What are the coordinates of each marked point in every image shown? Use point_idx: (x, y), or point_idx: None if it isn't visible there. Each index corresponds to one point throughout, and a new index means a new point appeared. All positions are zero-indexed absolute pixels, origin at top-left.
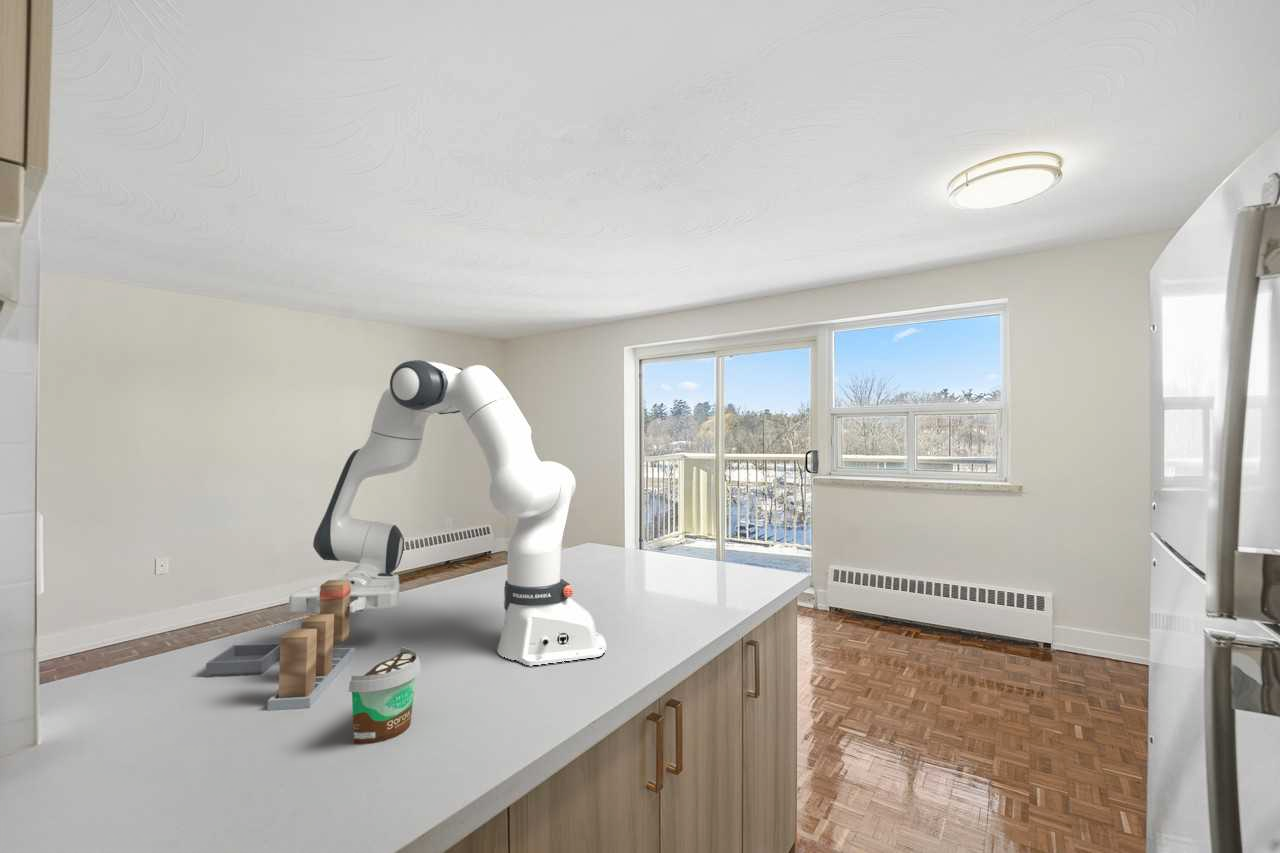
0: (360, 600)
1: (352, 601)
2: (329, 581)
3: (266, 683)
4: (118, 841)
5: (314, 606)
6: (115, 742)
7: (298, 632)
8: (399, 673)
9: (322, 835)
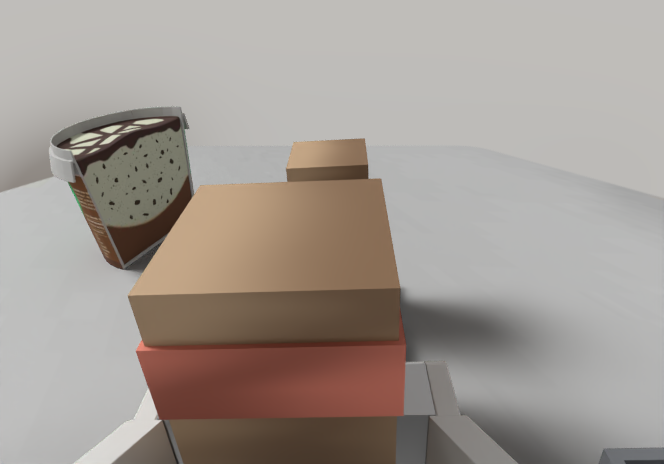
0: (85, 459)
1: (160, 421)
2: (360, 253)
3: (497, 410)
4: (380, 146)
5: (443, 361)
6: (579, 226)
7: (332, 155)
8: (105, 121)
9: (217, 148)
